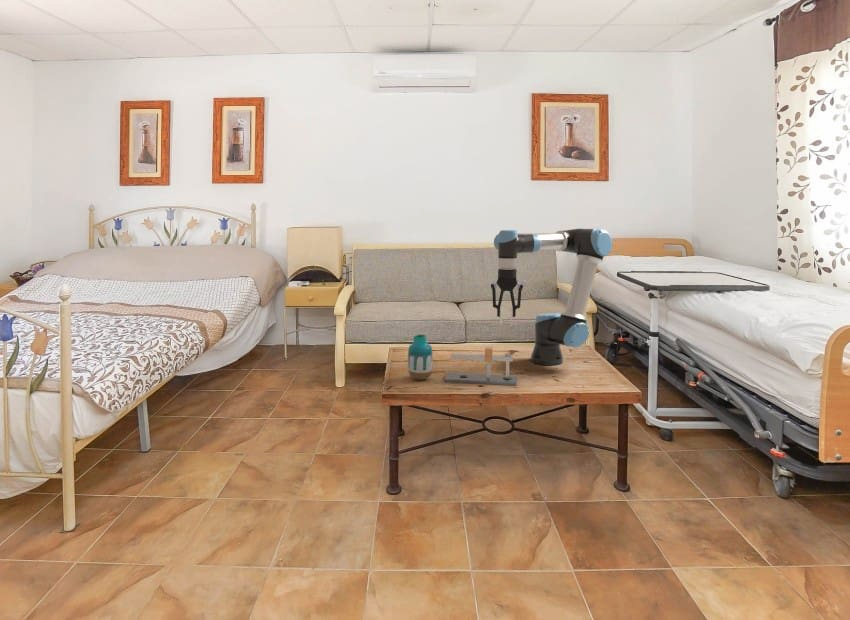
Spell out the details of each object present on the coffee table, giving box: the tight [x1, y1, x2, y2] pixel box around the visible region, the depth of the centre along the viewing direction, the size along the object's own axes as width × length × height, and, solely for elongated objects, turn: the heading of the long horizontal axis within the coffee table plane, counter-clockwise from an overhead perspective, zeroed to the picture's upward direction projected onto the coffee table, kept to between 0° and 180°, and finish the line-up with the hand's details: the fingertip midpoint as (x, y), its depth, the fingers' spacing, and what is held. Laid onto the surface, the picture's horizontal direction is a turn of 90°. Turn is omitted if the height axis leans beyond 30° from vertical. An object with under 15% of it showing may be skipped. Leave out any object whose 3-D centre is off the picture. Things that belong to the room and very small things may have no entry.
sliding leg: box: [484, 346, 494, 377], centre depth 224 cm, size 3×4×12 cm
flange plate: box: [444, 371, 518, 386], centre depth 225 cm, size 30×10×1 cm, turn 80°
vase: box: [407, 333, 434, 381], centre depth 226 cm, size 11×11×19 cm
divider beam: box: [450, 352, 514, 379], centre depth 224 cm, size 26×3×11 cm, turn 80°
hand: (506, 324), depth 219 cm, fingers open, 4 cm apart
